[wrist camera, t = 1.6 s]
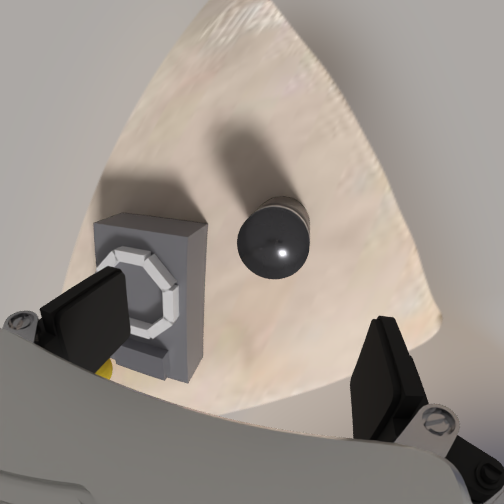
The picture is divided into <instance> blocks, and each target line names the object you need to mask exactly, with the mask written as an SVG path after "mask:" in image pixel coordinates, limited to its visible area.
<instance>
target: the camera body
mask: <svg viewBox="0 0 504 504" xmlns="http://www.w3.org/2000/svg"><path fill="white" fill-rule="evenodd" d="M207 231H208V224H206V223H198V222H191V221H183V220H176V219H168V218H161V217H153V216H145V215H137V214H129V213H120V214H117V215H114V216H111V217H109V218H106V219H103V220H100V221H98V222H95V223H94V242H95V256H96V267H97V268H96V271H97V272H98V271H100V270H101V269H103V268H105V267H106V266H111V267H115V268H119V269H121V270H122V272H123V273H124V274H125V278H126V290H127V301H128V311H129V319H130V328H131V333H130V336H129V338H128V339H127V340H126V341H125V342H124V343H123V344H122V345H121V346H120V348H119V349H118V350H117V351H116V352H115V353H114V354H113V355H112V356H111V357H110V358H112V359H115V360H116V364H118V365H121V366H123V367H126V368H129V369H131V370H134V371H137V372H140V373H143V374H146V375H149V376H152V377H155V378H158V379H161V380H164V381H165V379H166V378H167V377H168V378H171V379H174V380H178V381H181V382H185V383H189V381H190V379H191V377H192V376H193V374H194V372H195V370H196V368H197V367H198V365H199V363H200V361H201V359H202V358H203V327H204V294H205V269H206V249H207ZM95 273H96V272H95Z"/></svg>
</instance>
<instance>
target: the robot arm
mask: <svg viewBox="0 0 504 504" xmlns="http://www.w3.org/2000/svg"><path fill="white" fill-rule="evenodd" d="M40 312H41V316H42V318H41V319H40V320H39V319H38V316H37V314H35V313H34V312H31V311H20V312H17V313H14V314H12V315H10V316H9V317H8V318H7V319H6V321H5V323H4V326H3V328H2V329H1V328H0V504H504V467H503V466H502V464H501V463H500V462H499V461H497V460H496V459H495V458H493V457H491V456H489V455H488V454H487V453H485V452H483V451H482V450H480V449H478V448H477V447H475V446H474V445H472V444H471V443H469V442H467V441H466V440H464V439H463V438H461V437H460V436H458V435H457V434H458V432H459V429H460V423H459V419H458V417H457V416H456V414H455V413H454V412H453V411H452V410H451V409H449V408H448V407H446V406H443V405H440V404H429V403H428V400H427V397H426V394H425V392H424V388H423V386H422V383H421V380H420V377H419V374H418V372H417V369H416V367H415V364H414V361H413V358H412V357H411V356H410V355H409V353H408V350H407V347H406V345H405V342H404V340H403V337H402V335H401V332H400V330H399V327H398V325H397V323H396V320H395V318H393V317H385V316H378V318H377V319H373V320H372V321H371V324H370V327H369V330H368V333H367V336H366V339H365V342H364V344H363V347H362V350H361V353H360V356H359V358H358V361H357V364H356V366H355V369H354V372H353V374H352V377H351V381H350V391H351V404H352V418H353V438H354V439H352V438H342V437H334V436H324V435H315V434H308V433H301V432H294V431H288V430H282V429H276V428H270V427H265V426H260V425H255V424H250V423H245V422H241V421H236V420H232V419H228V418H224V417H220V416H216V415H212V414H208V413H205V412H201V411H197V410H194V409H190V408H187V407H184V406H180V405H177V404H174V403H171V402H168V401H165V400H162V399H159V398H156V397H153V396H150V395H147V394H145V393H142V392H139V391H136V390H134V389H131V388H129V387H126V386H123V385H121V384H118V383H116V382H114V381H111V380H109V379H106V378H104V377H102V376H99V375H97V374H95V373H96V372H97V371H98V370H99V369H100V368H101V366H102V365H103V364H104V363H105V362H106V361H107V360H108V359H109V358H110V357H111V356H112V355H113V354H114V353H115V352H116V351H117V350H118V349H119V348H120V346H121V345H122V344H123V343H124V342H125V341H126V340H127V339H128V338H129V336H130V333H131V328H130V319H129V311H128V301H127V290H126V278H125V274H124V273H123V272H122V270H121V269H119V268H115V267H111V266H106V267H105V268H103V269H101V270H100V271H98V272H96V273H95V274H93V275H91V276H90V277H88V278H87V279H85V280H83V281H82V282H80V283H79V284H77V285H75V286H74V287H72V288H71V289H69V290H67V291H66V292H64V293H63V294H61V295H60V296H58V297H57V298H55V299H54V300H52V301H50V302H49V303H47V304H46V305H45V306H43V307H41V308H40Z"/></svg>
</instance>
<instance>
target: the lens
mask: <svg viewBox="0 0 504 504" xmlns="http://www.w3.org/2000/svg"><path fill="white" fill-rule="evenodd" d="M309 245H310V220H309V216H308V213H307V211H306V209H305V208H304V207H303V205H302V204H300V203H299V202H298V201H296V200H295V199H292V198H290V197H284V196H280V197H274V198H271V199H269V200H267V201H266V202H265V203H264V204H262V205H261V206H260V207H259V208H258V209H257V210H256V211H255V212H254V213H253V214H252V215H251V216H250V217H249V218H248V219H247V220H246V221H245V222H244V223H243V225H242V227H241V229H240V231H239V234H238V239H237V247H238V252H239V255H240V258H241V260H242V261H243V263H244V264H245V266H246V267H247V268H248V269H249V270H250V271H252V272H253V273H255V274H256V275H258V276H261V277H263V278H267V279H282V278H286V277H288V276H291V275H292V274H294V273H296V272H297V271H298V270H299V269H300V268H301V267H302V266H303V264H304V263H305V261H306V259H307V257H308V253H309Z"/></svg>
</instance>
